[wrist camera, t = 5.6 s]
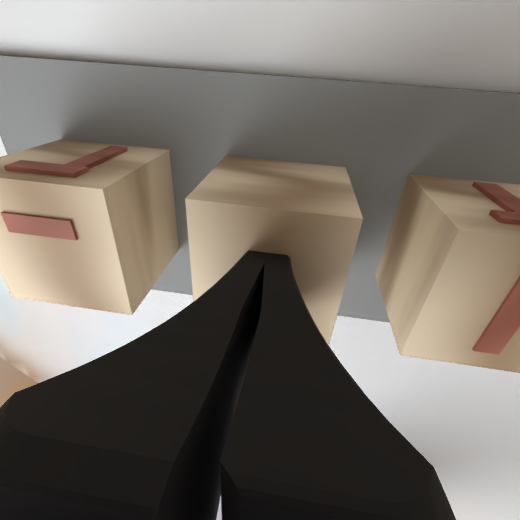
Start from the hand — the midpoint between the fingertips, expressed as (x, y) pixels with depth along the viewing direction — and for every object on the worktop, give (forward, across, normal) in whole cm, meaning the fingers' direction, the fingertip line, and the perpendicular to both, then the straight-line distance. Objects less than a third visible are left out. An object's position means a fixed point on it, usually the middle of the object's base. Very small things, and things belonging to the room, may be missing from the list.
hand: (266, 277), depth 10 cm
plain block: (+5, 0, 0) cm, 5 cm away
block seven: (+5, +8, 0) cm, 9 cm away
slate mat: (+5, 0, 0) cm, 5 cm away
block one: (+5, -8, 0) cm, 9 cm away
